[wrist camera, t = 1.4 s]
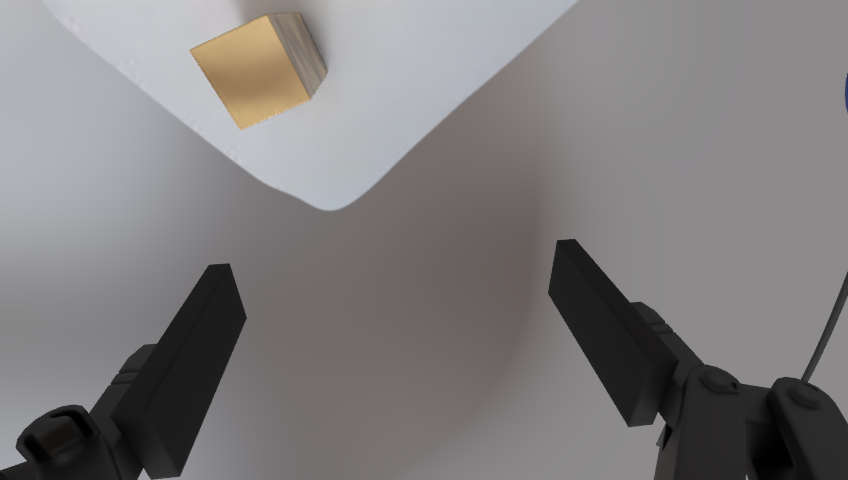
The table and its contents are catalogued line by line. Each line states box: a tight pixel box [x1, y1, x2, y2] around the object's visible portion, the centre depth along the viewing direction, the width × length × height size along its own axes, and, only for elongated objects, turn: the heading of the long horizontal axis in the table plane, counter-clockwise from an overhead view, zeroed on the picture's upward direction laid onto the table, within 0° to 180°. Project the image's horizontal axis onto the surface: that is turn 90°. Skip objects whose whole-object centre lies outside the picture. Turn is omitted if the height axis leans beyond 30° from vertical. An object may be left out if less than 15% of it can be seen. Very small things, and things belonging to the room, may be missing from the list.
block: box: [190, 13, 328, 130], centre depth 29 cm, size 5×5×12 cm
